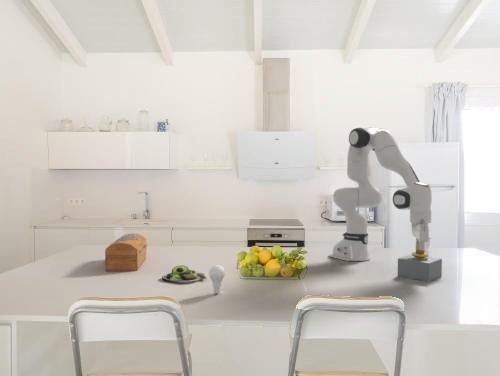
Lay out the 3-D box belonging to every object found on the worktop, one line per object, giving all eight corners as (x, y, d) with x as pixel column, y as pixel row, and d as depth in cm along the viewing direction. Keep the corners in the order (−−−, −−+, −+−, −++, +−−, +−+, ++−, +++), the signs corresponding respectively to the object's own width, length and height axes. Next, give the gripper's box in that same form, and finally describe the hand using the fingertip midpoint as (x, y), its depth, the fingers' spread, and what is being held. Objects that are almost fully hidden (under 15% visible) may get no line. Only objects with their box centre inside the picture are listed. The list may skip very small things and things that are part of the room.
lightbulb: (209, 291, 154) (209, 263, 154) (224, 291, 155) (224, 263, 155) (208, 296, 148) (208, 267, 148) (225, 295, 149) (225, 266, 149)
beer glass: (431, 269, 193) (432, 238, 192) (416, 268, 194) (417, 238, 193) (428, 266, 199) (429, 236, 199) (413, 265, 201) (414, 236, 200)
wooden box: (116, 258, 216) (116, 233, 215) (147, 258, 217) (147, 233, 217) (101, 272, 186) (101, 242, 185) (137, 271, 187) (137, 242, 187)
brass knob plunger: (408, 272, 180) (409, 242, 179) (415, 270, 185) (415, 240, 184) (424, 275, 175) (424, 244, 175) (430, 272, 180) (430, 242, 179)
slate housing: (397, 275, 180) (397, 258, 180) (411, 270, 190) (411, 254, 189) (429, 281, 170) (429, 263, 170) (441, 276, 180) (441, 258, 179)
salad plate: (217, 277, 177) (217, 267, 177) (192, 287, 161) (192, 276, 161) (183, 272, 186) (183, 262, 186) (156, 281, 171) (156, 270, 171)
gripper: (433, 221, 168) (432, 253, 169) (423, 216, 188) (423, 245, 189) (417, 220, 170) (416, 252, 170) (409, 215, 190) (409, 244, 190)
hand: (419, 248), depth 179 cm, fingers open, 4 cm apart
